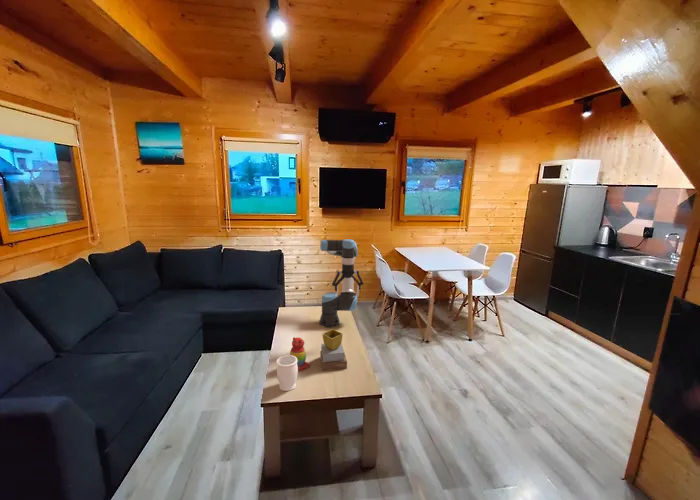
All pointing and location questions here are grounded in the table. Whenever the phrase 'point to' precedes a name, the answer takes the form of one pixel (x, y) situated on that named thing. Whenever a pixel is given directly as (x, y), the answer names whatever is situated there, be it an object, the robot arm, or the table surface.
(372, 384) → the table surface
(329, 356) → the grey top slab
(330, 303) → the robot arm
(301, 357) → the stacking bear
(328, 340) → the flower pot
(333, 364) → the walnut base slab
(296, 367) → the jar
